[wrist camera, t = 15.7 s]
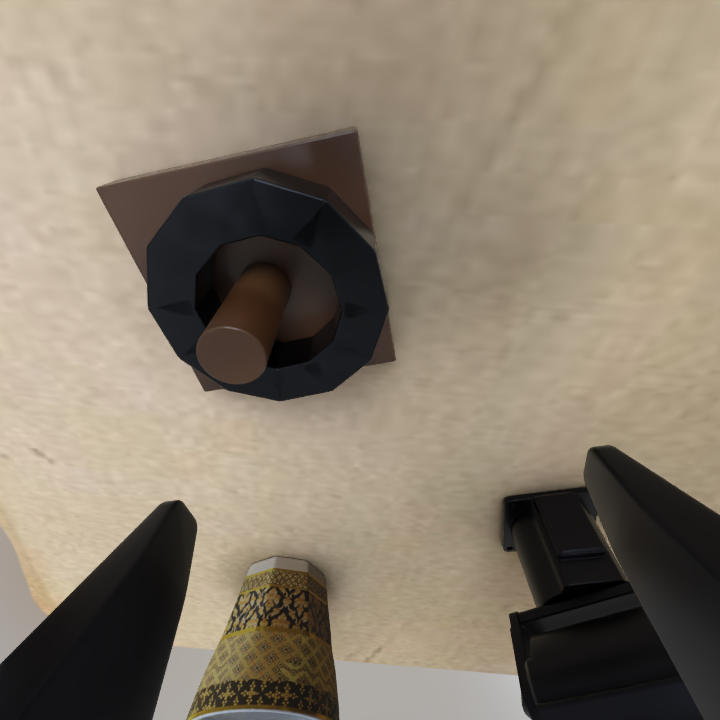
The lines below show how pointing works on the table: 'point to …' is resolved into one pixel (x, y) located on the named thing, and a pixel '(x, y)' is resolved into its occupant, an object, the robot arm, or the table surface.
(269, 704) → the ceramic cup
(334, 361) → the ring
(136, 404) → the table surface
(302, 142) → the peg stand
